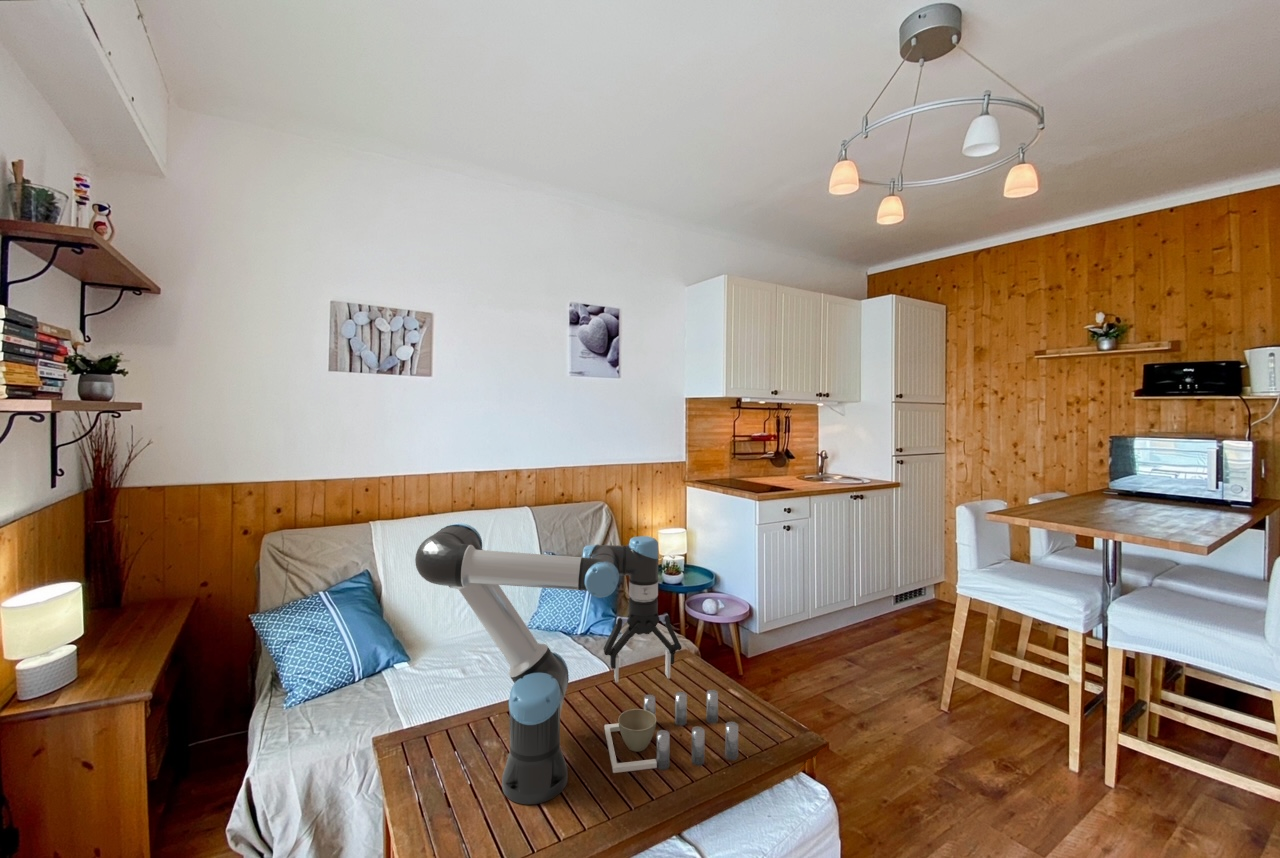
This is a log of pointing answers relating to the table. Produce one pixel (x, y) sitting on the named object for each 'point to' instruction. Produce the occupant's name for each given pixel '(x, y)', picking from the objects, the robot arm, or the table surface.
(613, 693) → the table surface
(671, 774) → the table surface
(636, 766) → the frame
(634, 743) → the flower pot
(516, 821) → the table surface
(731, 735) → the spacers
